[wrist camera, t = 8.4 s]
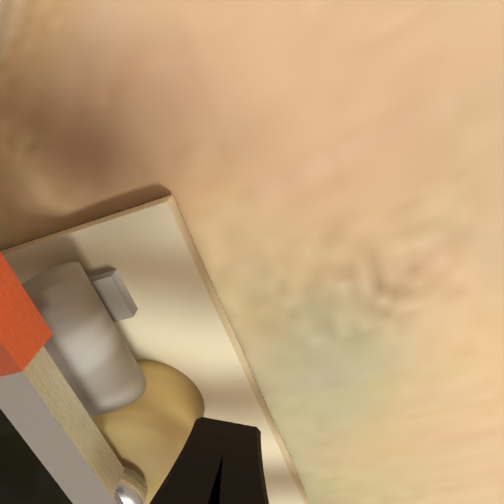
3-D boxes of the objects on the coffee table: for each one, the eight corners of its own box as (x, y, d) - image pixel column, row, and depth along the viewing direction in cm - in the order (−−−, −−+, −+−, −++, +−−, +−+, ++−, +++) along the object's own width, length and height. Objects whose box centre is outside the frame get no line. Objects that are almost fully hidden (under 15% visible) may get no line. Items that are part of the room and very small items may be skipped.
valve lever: (159, 495, 18) (145, 542, 16) (107, 504, 18) (88, 549, 16) (-14, 224, 13) (-59, 251, 11) (-78, 246, 13) (-129, 274, 12)
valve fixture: (306, 494, 24) (308, 594, 20) (144, 518, 26) (114, 611, 22) (172, 194, 17) (130, 247, 13) (-32, 261, 19) (-126, 325, 15)
